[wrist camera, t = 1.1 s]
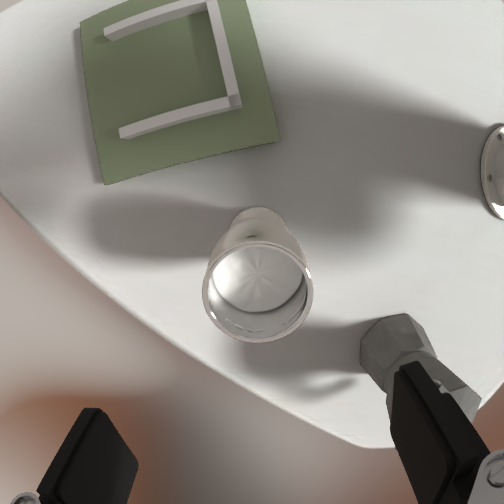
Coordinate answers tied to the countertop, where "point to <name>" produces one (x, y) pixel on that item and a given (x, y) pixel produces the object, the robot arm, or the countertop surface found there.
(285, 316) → the beer glass
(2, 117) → the countertop surface
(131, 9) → the plate
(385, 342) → the coffeepot
